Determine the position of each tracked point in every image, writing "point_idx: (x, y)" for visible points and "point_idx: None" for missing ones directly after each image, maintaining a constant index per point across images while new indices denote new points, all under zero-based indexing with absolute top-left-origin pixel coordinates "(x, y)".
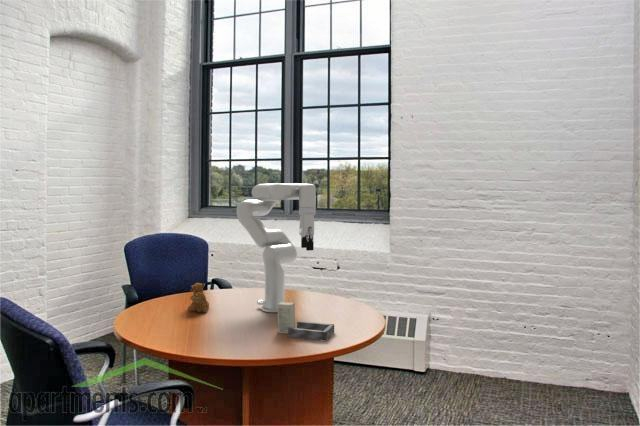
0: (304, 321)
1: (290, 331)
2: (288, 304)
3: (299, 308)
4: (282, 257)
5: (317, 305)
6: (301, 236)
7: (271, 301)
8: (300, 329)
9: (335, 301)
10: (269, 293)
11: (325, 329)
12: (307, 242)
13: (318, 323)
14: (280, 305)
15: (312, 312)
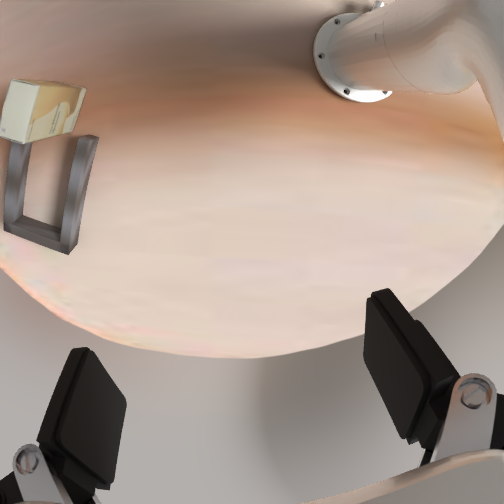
0: (83, 163)
1: None
2: (2, 124)
3: (368, 146)
4: (489, 76)
5: (394, 211)
6: (491, 407)
7: (340, 35)
8: (10, 160)
9: (422, 266)
10: (357, 22)
11: (21, 229)
12: (50, 437)
13: (67, 209)
14: (9, 92)
15: (309, 186)
